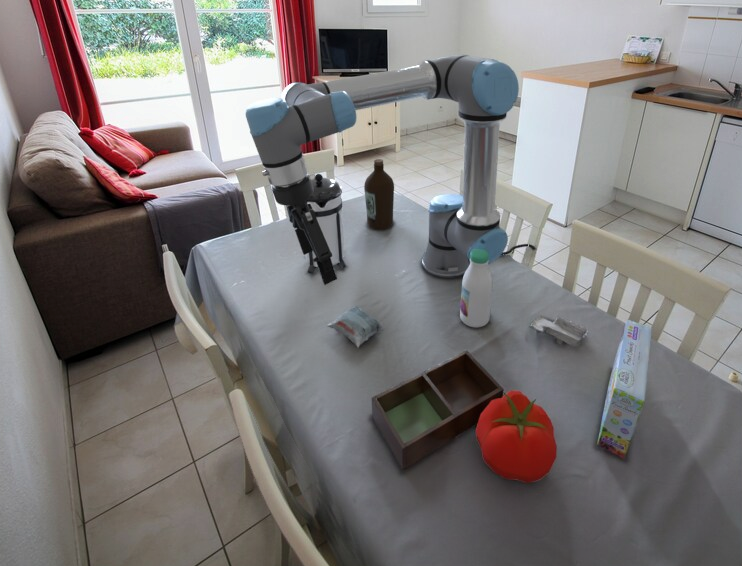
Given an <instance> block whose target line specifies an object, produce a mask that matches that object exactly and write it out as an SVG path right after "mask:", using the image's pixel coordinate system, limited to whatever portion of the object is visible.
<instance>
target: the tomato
mask: <svg viewBox="0 0 742 566" xmlns="http://www.w3.org/2000/svg"><path fill="white" fill-rule="evenodd" d="M536 401H537V398H535V399H533V400H532V401H530V398H529V397H528V396H527V395H525V393H523V392H522V391H521V390H509V391H507V392H506V393H505V392H503V397H502V398H501V399H500V398H497V399H494V400H492V401H491V402H490V403H489V405H488V406H487V407H486V408H485V409H484V411H483V412H482V413H481V415H480V418H479V420H478V424H476V429H475V438H476V440H477V443H478V445H479V448H480V450H481V455H482V460H483V462H484V463H485V465H487V466H488V467H489V469H491V471H492V472H493V473H495V474H496V475H498V476H499V477H501V478H502V479H504V480H516V481H520V482H523V483H525V484H530V483H534V482H537V481H540V480H542V479H543V478H544V477H546V476H547V475H548V474H549V473H550V471H551V470H552V468H553V466H554V463H555V461H556V459H557V455H558V453H557V449H558V447H557V442H556V438H555V427H554V425H553V422H552V420H551V418H550V417H549V415H548V413H547V412H546V410H545V409H544V408H543V407H542V406H540V405H538V404H537V403H535V402H536Z"/></svg>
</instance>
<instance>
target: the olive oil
mask: <svg viewBox="0 0 742 566" xmlns="http://www.w3.org/2000/svg"><path fill="white" fill-rule="evenodd" d="M384 167H385V165H384V159H381V158H375V159H374V160H373V171H372V172H371V173H370V174H369V175H368V176H367V177H366V179H365V181H364V184H363V185H364V186H363V189H364V198H365V209H366V210H365V211H366V225H367V226H368V228H370V229H372V230H374V231H375V230H376V231H383V230H388V229H389V228H391V227H392V226H393V224H394V203H395V201H394V198H395V183H394V179H393V178H392V177H391V176H390V175H389V174H388V173H387V171H385V170H384Z"/></svg>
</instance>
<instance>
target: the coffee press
mask: <svg viewBox="0 0 742 566" xmlns="http://www.w3.org/2000/svg"><path fill="white" fill-rule="evenodd" d="M310 179H311V182H312V185H313V188H314V191H313V194H312V195H311V196H310V197H309V198H308V199H307V203H310V204H311V207H312V209H313V210H314V211H315V215H316V218H317V221H318V223H319V226H320V228H321V230H322V233H323V235H324V237H325V240H326V242H327V244H328V247H329V249H330V251H331V253H332V257H330V258H331V261H332V264H333V266H336V265H337V267H338V268H339V269H340V270H344V269H345V268H346V266H347V265H346V263H345V261H344V257H345V239H344V238H345V237H344V222H343V199H342V194H343V188H342V186H341V185H340V184H339V183H338V182H337V181H336V180H335V179H332V178H328V177H324V176H323V175H322V174H321V173H316V174H315V175H314V178H310ZM304 256H305V257H304V258H305V261H306V262H307V264H309V265H308V269H307V273H308V274H311V275H313V274H314V273H315V271H316V269H318V265H317V263H316V262H314V261H313V259H314V258H316V256H315V254H314V252H313V251H311V252H309V253H307V254H305V255H304Z"/></svg>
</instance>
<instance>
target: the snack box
mask: <svg viewBox="0 0 742 566" xmlns="http://www.w3.org/2000/svg"><path fill="white" fill-rule="evenodd" d="M621 332H622V333H621V336H620V340H619V343H618V346H617V351H616V354H615V357H614V361H613V365H612V369H611V373H610V378H609V381H608V387H607V392H606V397H605V400H604V401H605V402H604V405H603V407H604V408H603V410H602V411H603V412H602V417H601V421H600V429H599V434H598V438H597V442H596V446H597V447H599V448H602V449H604V450H606V451H609V452H610V453H612V454H614V455H616V456H618V457H620V458H622V459H625V458H626V456H627V454H628V451H629V447H630V445H631V442H632V439H633V436H634V433H635V431H636V427H637V424H638V423H639V419H640V416H641V412H642V411H643V408H644V407H643V406H644V404H645V400H646V399H645V398H646V391H647V390H646V389H647V383H648V382H647V380H648V370H649V362H650V361H649V359H650V351H651V342H652V332H653V327H652V326H649V325H646V324H644V323H639V322H636V321H634V320H630V319H627V318H626V319H625V323H624V326H623V329H622V331H621Z"/></svg>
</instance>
